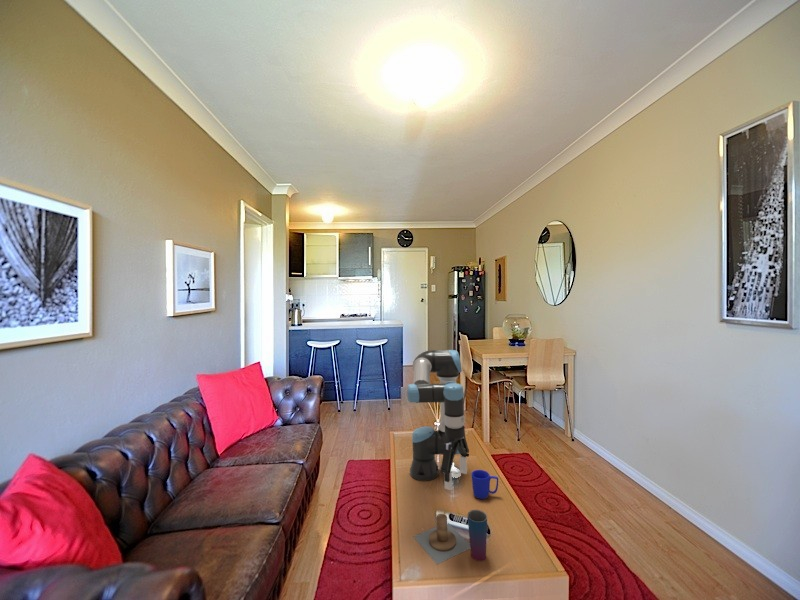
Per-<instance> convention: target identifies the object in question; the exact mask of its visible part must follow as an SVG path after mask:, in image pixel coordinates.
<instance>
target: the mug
mask: <svg viewBox="0 0 800 600" xmlns="http://www.w3.org/2000/svg"><path fill="white" fill-rule="evenodd" d="M491 479H493V480H495V479H496V487H495V489H494V490H493V491H491V490H490V485H491ZM471 483H472V493H473V495H474V496H475V498H478V499H479V500H480V499H481V500H484V499H487V498H488V497H489V494H492V495H493V494H496V493H497V491H498V489H499V488H498V487H499V477H498V476H496V475H495V476H494V475H490V473H489V472H488V471H486V470H483V469H475V470H473V471H472V472H471Z"/></svg>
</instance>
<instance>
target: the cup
mask: <svg viewBox="0 0 800 600" xmlns="http://www.w3.org/2000/svg"><path fill="white" fill-rule="evenodd" d="M467 525H468V534H469V543H470V555H471V557H472V559H474V560H475V561H477V562H482V561H484V560H485V559H486V558H487V532H488V531H487V530H488V515H487V513H486V512H484V511H483V510H480V509H471V510H469V511H468V513H467Z"/></svg>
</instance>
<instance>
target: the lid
mask: <svg viewBox="0 0 800 600" xmlns="http://www.w3.org/2000/svg"><path fill="white" fill-rule="evenodd" d="M435 520H436V521H435V522H436V524H435V525H436V527H437V530H435V531H433V532H432V533H431V534H430V535H429V544H430V546H431V547H432V548H434V549H435V550H438V551H449V550H451V549H453V548H454V547H455V545H456V538H455V535H454V534H453V533H452V532H450V531H448V530H447V523H448V516H447V514H444V513H438V514H437V515H436V518H435Z"/></svg>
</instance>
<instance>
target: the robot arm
mask: <svg viewBox="0 0 800 600" xmlns="http://www.w3.org/2000/svg"><path fill="white" fill-rule="evenodd" d="M460 358H461V357H460V354H459V352H458V351H457V350H456V349H455V350H454V349H437V350H435V349H434V350H433V349H429V350H425V351H422V352H421V353H420V354H418V355H417V356H415V358H414V360H413V362H412V370H413V379H412V383H409V384H408V385H407V388H406V389H407V392H406V393H407V394H406V396H407V401H408V402H409V403H415V404H418V403H419V404H420V403H421V404H422V403H423V404H425V403H426V404H427V403H440V405H439V406H440V425H439V426H438V427H437V429H438V430H435V429H434V428H435V427H432V426H428V425H427V426H421V427H417V428H416V429H414V431H412V438H411V442H412V461H411V465H410V468H409V475H410V476H411V478H413V479H414V480H416V481H422V482H425V481H426V482H427V481H432V480H434V479H436V478H437V477H439V474H440V473H444V474H443V478H444V479H443V480H444V483H443V484H444V489H445V490H448V491H453V479H452V478H453V473H452V471H451V470H452V466H453V463H454V459H455V455H457V456H458V455H459V473H460V474H463V475H467V474H468V462H467V459H468V458H469V457H470V454H469V452H470V450H469V446H468V442H467V439H466V433H465V432H466V431H465V430H466V429H465V428H466V427H465V426H464V425H465V421H466V418H465V405H464V403H465V402H464V401H465V400H464V397H465V393H464V386H463V385H462V384H461V383H457V379H458V378H459V375H460V374H461V373H462V364H461V363H462V362H461V359H460ZM430 373H431V374H432V373H433V374H436V377H437V379H439V383H431V378H430V377H431V376H430V375H431V374H430ZM436 455H439V456H440V455H442V461H441V467H440V468H439V466H438V463H437V461H436ZM467 457H468V458H467ZM439 469H440V470H439ZM439 471H440V472H439Z"/></svg>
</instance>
